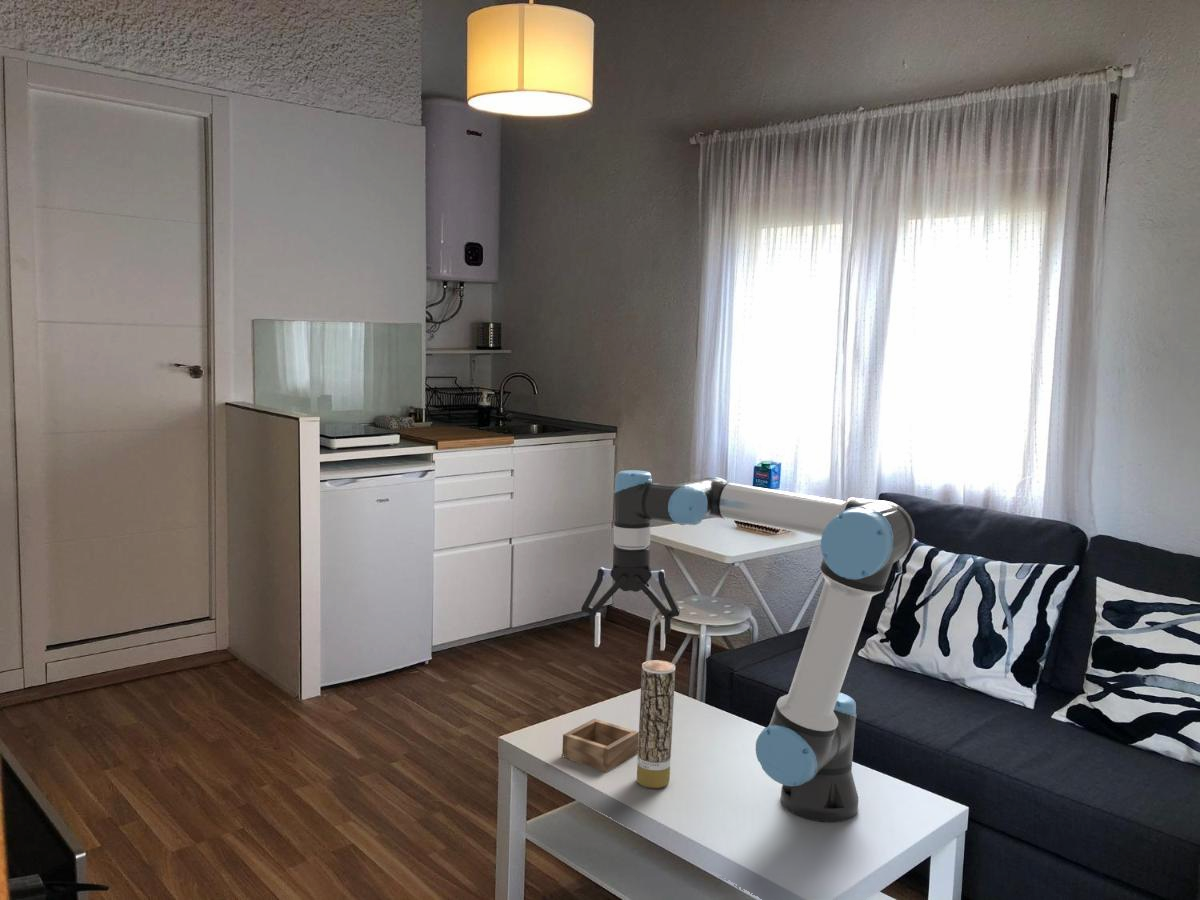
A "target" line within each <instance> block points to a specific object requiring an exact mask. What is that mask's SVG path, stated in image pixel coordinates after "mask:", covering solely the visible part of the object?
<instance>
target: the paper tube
mask: <svg viewBox="0 0 1200 900" xmlns="http://www.w3.org/2000/svg"><path fill="white" fill-rule="evenodd" d="M641 665H642V666H641V678H640V679H641V682H640V702H639V704H640V705H639V720H638V721H639V723H638V724H639V725H638V732H639V737H638V754H637V763H636V764H637V766H636V768H637V770H636V781H637V782H638V783H639V785H640V786H643V788H644V787H646V788H647V789H661V788H664V787H666V786H667V785H668V784H669V782H670V775H671V759H672V740H673V739H672V738H673V721H674V719H673V718H674V703H675V702H674V699H675V698H674V697H675V683H676V665H675V664H674V663H672V662H670V661H666V660H660V659H659V660H658V659H656V660H655V659H654V660H653V659H651V660H647V661H645V662H643V663H641Z"/></svg>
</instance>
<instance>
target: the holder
mask: <svg viewBox="0 0 1200 900" xmlns="http://www.w3.org/2000/svg"><path fill="white" fill-rule="evenodd" d="M638 740H639V731H637V730H633V729H629V728H626V727H624V726H620V725H617V724H614V723H610V722H606V721H604V720H600V719H597V718H593V719H591V720H589V721H587V722H585V723H583V724H581V725H579V726H577V727H575V728H573V729H571V730H570V731H567V732H566V733H564V734H562V748H561V749H562V751H561V752H562V753H561V756H564V757H567V758H569V759H568V760H570V759H572V760H571V761H573V760H575V761H574V762H576V761H577V763H579V762H581V763H580V764H582V763H583V764H582V765H585V764H586V765H585V766H588V765H589V766H588V767H591V766H592V768H594V767H595V768H594V769H598V770H599V771H600V770H601V771H603V772H606V773H608V772H609V771H611V770H613V769H615V768H616V767H619V766H620V765H621V764H623V763H625V762H627V761H629V760H630V759H632V758H633V757H635V756H638ZM564 757H563V758H564ZM567 758H566V759H567Z"/></svg>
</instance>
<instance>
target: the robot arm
mask: <svg viewBox="0 0 1200 900" xmlns="http://www.w3.org/2000/svg"><path fill="white" fill-rule="evenodd" d="M652 478H653V477H652V474H651V472H650V471H645V470H637V469H635V470H634V469H630V470H629V469H627V470H621V471H618V472H617V473H616V474H615V480H614V481H615V482H614V491H613V498H614V499H613V501H614V503H613V504H614V505H613V506H614V507H613V508H614V513H613V514H614V521H613V544H614V545H615V546H614V547H612V548H613V552H612V555H613V559H612V569H611V568H610V569H609V568H605V567H604V566H600V567H599V568H598V570H597V575H596V580H595V581H594V583H593V585H592V587H591V589H590V591H589V593H588V595H587V596H586V598H585V600H584V602H583V604H582V606H581V609H580V610H581V612H583V613H587V614H589V629H590V630H591V631H594V647H595V648H599V646H600V644H601V612H599V610H600V609H601V608H602V607H603V606H604V605H605V604H606V603H607V602H608V601H609V600H610V599H611V597H612V596H613V595H614V594H615V593H617V591H618V590H619V589H620V590H621V591H622V592H629V591H631V592H634V593H637V592H639V591H642V592H643V594H645V595H646V596H647V597H648V598H649V600H650V602H652V604H653V605H654V606H655V608H657V610H659V612H660V613H661V615H662V616H661V618H660V650H659V651H665V648H666V635H669V634H670V633H671V629H672V618H674V617H678V616H680V612H681V609H680V607H679V604H678V603H677V601H676V599H675V596H674V594H673V592H672V590H671V588H670V586H669V584H668V582H667V579H666V573H665V571H666V570H665V569H664V568H660V569H659V570H651V567H650V564H651V562H650V561H651V558H650V557H651V548H650V547H649V546H650V545H651V521H657V522H664V523H671V524H677V525H681V526H685V525H691V526H697V525H699V524H701V523H702V521H703V520H704V519H705V517H714V518H718V519H725V520H730V521H737V522H742V523H748V524H752V525H758V526H763V527H768V528H773V529H778V530H785V531H790V532H793V533H800V534H805V535H811V536H814V537H815V536H817V537H821V539H820V551H821V554H822V557H823V558H822V561H821V563H820V567H819V571H820V573H821V575H822V576H823V579H824V583H823V586H822V589H821V592H820V595H819V598H818V602H817V604H816V607H815V611H814V614H813V617H812V620H811V623H810V625H809V626H810V627H809V629H808V632H807V635H806V638H805V642H804V645H803V648H802V651H801V654H800V657H799V661H798V663H797V666H796V669H795V672H794V676H793V678H792V682H791V686H790V688H789V691H788V694H784V695H783V696H780V697H779V698H778V699H777V702H776V704H775V708H774V711H773V713H772V716H771V719H770V722H769V724H768V725H767V726H766V727H765V728H763V729H762V730H761V732H760V733H759V735H758V737H757V739H756V741H755V755H756V758H757V761H758V762H759V764H760V766H761V769H762V770H763V772H765V774H766V775H767V776H768V777H769V778H770V779H772V780H773V781H774V782H776V783H778V784H780V785H782V786H781V790H780V801H781V804H782V806H783V807H785V809H786V810H788V811H789V812H791V813H793V814H795V816H799V817H801V818H804V819H808V820H813V821H817V822H829V823H831V822H842V821H846V820H849V819H851V818H853V817H854V816H856V815H857V814H858V812H859V810H858V809H859V796H858V791H857V788H856V784H855V780H854V776H853V771H852V769H853V768H852V767H853V759H854V758H853V757H854V755H853V754H854V746H855V745H854V743H855V734H856V733H855V732H856V731H855V730H856V719H857V712H856V711H857V705H856V704H857V703H856V701H855V700H854V699H853V698H852V697H851V696H849V695H848V694H845V693H842V692H841V690H842V687H843V684H844V681H845V678H846V676H847V675H846V674H847V671H848V669H849V666H850V663H851V660H852V658H853V654H854V652H855V647H856V646H857V642H858V639H859V637H860V633H861V631H862V627H863V625H864V621H865V618H866V616H867V612H868V610H869V607H870V604H871V601H872V598H873V597H874V596H876V595H878V594H881V593H883V592H884V590H885V587H886V584H887V582H888V579H889V576H890V573H891V570H892V567H893V565H894V563H896V562H898V561H900V560H901V559H903V558H904V557H905V556H906V555H907V554H908V553H909V551H910V549H912V546H913V544H914V541H915V525H914V523H913V520H912V518H911V516H910V514H909V513H908V512H907V511H906V510H905V509H904V508H903V507H902V506H901V505H900V504H899V505H898V504H897V503H894V502H893V501H888V500H880V499H871V498H870V499H869V498H868V499H867V498H861V497H855V496H852V497H850V498H847V500H844V501H843V500H841V499H833V498H826V497H820V496H815V495H808V494H803V493H798V492H797V493H795V492H790V491H783V490H779V489H778V490H777V489H771V488H767V487H766V488H764V487H759V486H753V485H748V484H747V485H745V484H741V483H736V482H728V481H726V480H725V479H723V478H722V477H721V478H720V477H717V476H716V477H708V476H707V477H705V478H702V479H701V478H700V479H698V480H697V479H696V480H693V481H689V482H688V481H687V482H682V483H677V484H665V483H656V482H653V479H652ZM609 576H610V577H611V578H612V580H613V581H614V583H613V584H612V585H611V586H610V587H609V588H608V589H607V591H606V592H605V593H604V594H603V595H602V596H601V597H600V598H599V600H598V601H597V602H595V604H593V606H591V603H592V601H593V600H594V598H595V595H596V594H597V592H598V590H599V588H600V586H602V585H601V584H602V583H603V580H606V579H607V578H608V577H609ZM651 578H654V580H655V582H658V584H659V586H660V588H661V591H662V593H663V596H664V597H665V599H666V601H667V604H668V605H669V607H670V609H669V608H668V607H667V605H666V604H665V603H664V601H663V600H662V599H661V598H660V597H659V595H658V594H657V593H656V592H655V590H654V589H653V587H652V586H651V585H650V583H649V582H650V580H651Z"/></svg>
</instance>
